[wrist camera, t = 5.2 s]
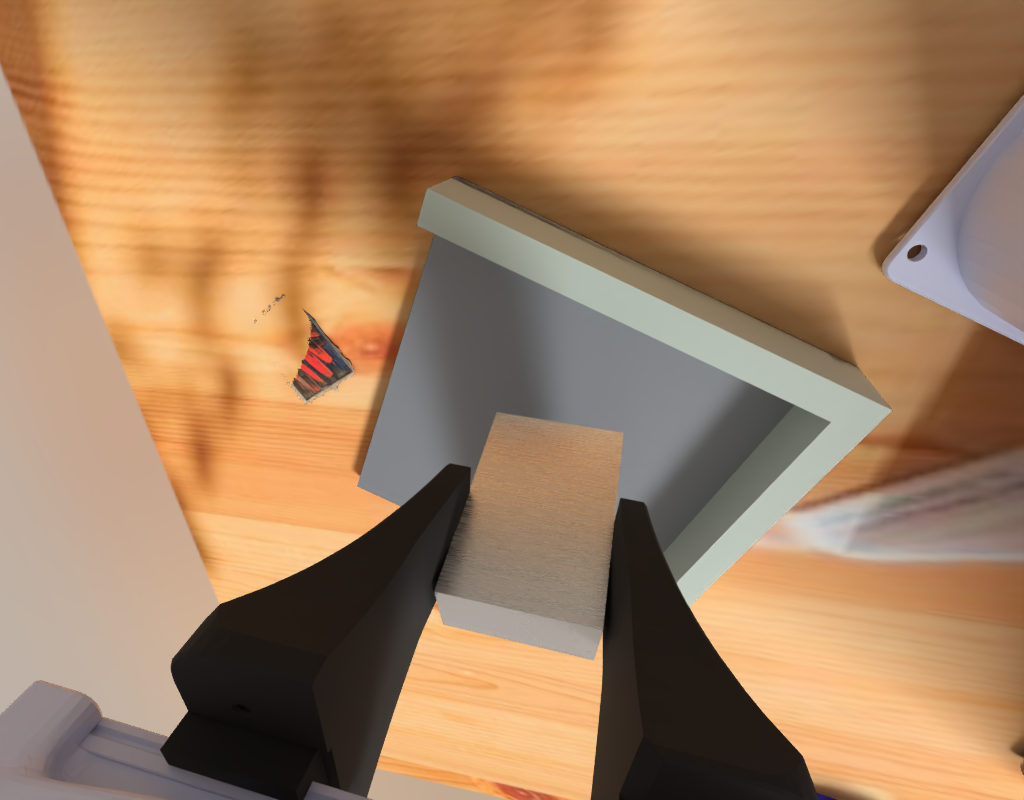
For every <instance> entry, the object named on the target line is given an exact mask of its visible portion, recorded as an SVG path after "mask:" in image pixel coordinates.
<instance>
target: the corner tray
mask: <svg viewBox="0 0 1024 800" xmlns="http://www.w3.org/2000/svg"><path fill="white" fill-rule="evenodd" d="M417 226H419V227H421V228H423V229H425V230H427V231H429V232H431V233H434V237H433V240H432V243H431V247H430V250H429V253H428V257H427V260H426V263H425V266H424V270H423V273H422V276H421V279H420V283H419V286H418V289H417V292H416V296H415V299H414V302H413V306H412V309H411V312H410V315H409V319H408V322H407V325H406V328H405V332H404V335H403V338H402V342H401V345H400V348H399V351H398V355H397V358H396V361H395V364H394V368H393V371H392V374H391V377H390V381H389V384H388V387H387V391H386V394H385V397H384V400H383V404H382V407H381V410H380V413H379V417H378V420H377V423H376V426H375V430H374V433H373V436H372V440H371V443H370V446H369V449H368V453H367V456H366V459H365V462H364V466H363V469H362V472H361V475H360V479H359V482H358V485H357V486H358V487H360V488H362V489H364V490H366V491H369V492H371V493H373V494H375V495H377V496H379V497H382V498H384V499H386V500H388V501H390V502H392V503H395V504H397V505H399V506H402V505H403V504H405V503H406V502H407V501H408V500H409V499H410V498H412V497H413V496H414V495H415V494H416V493H417V492H418V491H420V490H421V489H422V488H423V487H424V486H425V485H426V484H427V483H428V482H429V481H430V480H432V479H433V478H434V477H435V476H436V475H437V474H438V473H439V472H440V471H441V470H442V469H443V468H444V467H445V466H446V465H448V464H449V463H452V464H457V465H462V466H467V467H471V479H470V487H471V484H472V481H473V479H474V476H475V473H476V470H477V467H478V464H479V461H480V458H481V455H482V453H483V450H484V447H485V444H486V441H487V438H488V435H489V432H490V430H491V427H492V424H493V421H494V418H495V415H496V412H500V413H506V414H512V415H518V416H524V417H530V418H536V419H542V420H548V421H554V422H560V423H566V424H573V425H579V426H585V427H591V428H597V429H603V430H609V431H615V432H621V433H624V435H623V444H622V454H621V463H620V473H619V482H618V492H617V501H616V511H615V517H616V513H617V509H618V505H619V501H620V498H625V499H630V500H635V501H640V502H644V503H645V505H646V506H647V509H648V512H649V516H650V519H651V522H652V525H653V528H654V531H655V534H656V537H657V539H658V542H659V545H660V547H661V549H662V552H663V554H664V557H665V559H666V561H667V563H668V566H669V568H670V570H671V572H672V575H673V577H674V579H675V581H676V583H677V585H678V587H679V589H680V591H681V593H682V595H683V597H684V599H685V600H686V602H687V604H688V606H689V607H690V606H691V605H692V604H693V603H694V602H695V601H696V600H697V599H698V598H699V597H700V596H701V595H702V594H703V593H704V592H705V591H706V590H707V589H708V588H709V587H710V586H711V585H712V584H713V583H714V582H715V581H716V580H718V579H719V578H720V577H721V576H722V575H723V574H724V573H725V572H726V571H727V570H728V569H729V568H730V567H731V566H732V565H733V564H734V563H735V562H736V561H737V560H738V559H739V558H740V557H741V556H742V555H743V554H744V553H745V552H747V551H748V550H749V549H750V548H751V547H752V546H753V545H754V544H755V543H756V542H757V541H758V540H759V539H760V538H761V537H762V536H763V535H764V534H765V533H766V532H767V531H768V530H769V529H770V528H771V527H772V526H773V525H774V524H776V523H777V522H778V521H779V520H780V519H781V518H782V517H783V516H784V515H785V514H786V513H787V512H788V511H789V510H790V509H791V508H792V507H793V506H794V505H795V504H796V503H797V502H798V501H799V500H800V499H801V498H802V497H803V496H804V495H806V494H807V493H808V492H809V491H810V490H811V489H812V488H813V487H814V486H815V485H816V484H817V483H818V482H819V481H820V480H821V479H822V478H823V477H824V476H825V475H826V474H827V473H828V472H829V471H830V470H831V469H832V468H833V467H835V466H836V465H837V464H838V463H839V462H840V461H841V460H842V459H843V458H844V457H845V456H846V455H847V454H848V453H849V452H850V451H851V450H852V449H853V448H854V447H855V446H856V445H857V444H858V443H859V442H860V441H861V440H862V439H864V438H865V437H866V436H867V435H868V434H869V433H870V432H871V431H872V430H873V429H874V428H875V427H876V426H877V425H878V424H879V423H880V422H881V421H882V420H883V419H884V418H885V417H886V416H887V415H888V414H889V413H890V412H891V411H893V410H892V409H891V408H890V406H889V405H888V404H887V403H886V401H885V400H884V399H883V398H882V397H881V395H880V394H879V393H878V392H877V390H876V389H875V388H874V387H873V385H872V384H871V383H870V382H869V380H868V379H867V378H866V377H865V375H864V374H863V373H862V372H861V370H860V369H859V368H858V367H856V366H854V365H852V364H850V363H848V362H846V361H843V360H841V359H839V358H837V357H835V356H833V355H831V354H829V353H827V352H825V351H823V350H820V349H818V348H816V347H814V346H812V345H810V344H808V343H806V342H804V341H802V340H800V339H797V338H795V337H793V336H791V335H789V334H787V333H785V332H783V331H781V330H779V329H777V328H774V327H772V326H770V325H768V324H766V323H764V322H762V321H760V320H758V319H756V318H754V317H751V316H749V315H747V314H745V313H743V312H741V311H739V310H737V309H735V308H733V307H730V306H728V305H726V304H724V303H722V302H720V301H718V300H716V299H714V298H712V297H710V296H707V295H705V294H703V293H701V292H699V291H697V290H695V289H693V288H691V287H689V286H687V285H684V284H682V283H680V282H678V281H676V280H674V279H672V278H670V277H668V276H666V275H664V274H661V273H659V272H657V271H655V270H653V269H651V268H649V267H647V266H645V265H643V264H641V263H638V262H636V261H634V260H632V259H630V258H628V257H626V256H624V255H622V254H620V253H618V252H615V251H613V250H611V249H609V248H607V247H605V246H603V245H601V244H599V243H597V242H595V241H592V240H590V239H588V238H586V237H584V236H582V235H580V234H578V233H576V232H574V231H571V230H569V229H567V228H565V227H563V226H561V225H559V224H557V223H555V222H553V221H551V220H548V219H546V218H544V217H542V216H540V215H538V214H536V213H534V212H532V211H530V210H528V209H525V208H523V207H521V206H519V205H517V204H515V203H513V202H511V201H509V200H507V199H505V198H502V197H500V196H498V195H496V194H494V193H492V192H490V191H488V190H486V189H484V188H482V187H479V186H477V185H475V184H473V183H471V182H469V181H467V180H465V179H463V178H461V177H459V176H455V177H453V178H450V179H448V180H446V181H443V182H441V183H439V184H436V185H434V186H432V187H429V188H427V190H426V194H425V197H424V201H423V204H422V208H421V212H420V215H419V219H418V222H417Z"/></svg>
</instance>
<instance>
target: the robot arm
mask: <svg viewBox="0 0 1024 800" xmlns="http://www.w3.org/2000/svg"><path fill="white" fill-rule="evenodd" d="M919 244H920V245H921V251H920V253H919V254H918V255H917V256H915V257H913V258H907V253H908V251H909V249H911V248H912V247H913V246H916V245H919ZM882 272H883V275H884V276H885V277H887V278H888V279H889V280H891V281H892V282H894V283H896V284H898V285H900V286H902V287H904V288H907V289H909V290H911V291H913V292H915V293H917V294H919V295H921V296H923V297H925V298H927V299H929V300H931V301H933V302H936V303H938V304H940V305H942V306H944V307H946V308H948V309H950V310H952V311H954V312H956V313H958V314H960V315H962V316H965V317H967V318H969V319H971V320H973V321H975V322H977V323H979V324H981V325H983V326H985V327H987V328H989V329H991V330H993V331H996V332H998V333H1000V334H1002V335H1004V336H1006V337H1008V338H1010V339H1012V340H1014V341H1016V342H1018V343H1020V344H1022V345H1024V95H1023V96H1022V97H1021V98H1020V99H1019V101H1018V102H1017V103H1016V104H1015V105H1014V107H1013V108H1012V109H1011V110H1010V111H1009V112H1008V114H1007V115H1006V116H1005V117H1004V118H1003V120H1002V121H1001V122H1000V123H999V124H998V126H997V127H996V128H995V129H994V130H993V131H992V133H991V134H990V135H989V136H988V137H987V139H986V140H985V141H984V142H983V143H982V145H981V146H980V147H979V148H978V149H977V150H976V152H975V153H974V154H973V155H972V156H971V158H970V159H969V160H968V161H967V162H966V164H965V165H964V166H963V167H962V168H961V169H960V171H959V172H958V173H957V174H956V175H955V177H954V178H953V179H952V180H951V181H950V182H949V184H948V185H947V186H946V187H945V188H944V190H943V191H942V192H941V193H940V194H939V196H938V197H937V198H936V199H935V200H934V201H933V203H932V204H931V205H930V206H929V207H928V209H927V210H926V211H925V212H924V213H923V215H922V216H921V217H920V218H919V219H918V220H917V222H916V223H915V224H914V225H913V226H912V228H911V229H910V230H909V231H908V232H907V234H906V235H905V236H904V237H903V238H902V239H901V241H900V242H899V243H898V244H897V245H896V247H895V248H894V249H893V250H892V251H891V252H890V254H889V255H888V256H887V257H886V259H885V260H884V262H883V264H882ZM470 479H471V467H467V466H462V465H457V464H452V463H449V464H448V465H446V466H445V467H444V468H443V469H442V470H441V471H440V472H439V473H438V474H437V475H436V476H435V477H434V478H433V479H432V480H430V481H429V482H428V483H427V484H426V485H425V486H424V487H423V488H422V489H421V490H420V491H418V492H417V493H416V494H415V495H414V496H413V497H412V498H410V499H409V500H408V501H407V502H406V503H405V504H403V505H402V506H401V507H400V508H399V509H397V510H396V511H395V512H394V513H392V514H391V515H390V516H388V517H387V518H386V519H384V520H383V521H382V522H380V523H379V524H378V525H377V526H375V527H374V528H372V529H371V530H370V531H368V532H367V533H365V534H364V535H362V536H361V537H359V538H358V539H356V540H355V541H353V542H352V543H350V544H349V545H347V546H346V547H344V548H342V549H341V550H339V551H337V552H335V553H334V554H332V555H330V556H328V557H327V558H325V559H323V560H321V561H320V562H318V563H316V564H314V565H312V566H310V567H308V568H307V569H304V570H302V571H300V572H298V573H296V574H294V575H292V576H290V577H288V578H285V579H283V580H281V581H279V582H276V583H274V584H272V585H269V586H267V587H265V588H262V589H260V590H257V591H254V592H252V593H249V594H246V595H244V596H241V597H238V598H236V599H233V600H230V601H228V602H225V603H222V604H220V605H219V606H218V607H217V608H216V609H215V610H214V611H213V612H212V613H211V614H210V615H209V616H208V617H207V618H206V619H205V620H204V622H203V623H202V624H201V625H200V626H199V628H198V629H197V630H196V631H195V632H194V634H193V635H192V636H191V637H190V638H189V640H188V641H187V642H186V643H185V644H184V646H183V647H182V648H181V649H180V650H179V652H178V653H177V654H176V655H175V656H174V658H173V659H172V663H171V673H172V676H173V679H174V682H175V684H176V686H177V688H178V690H179V692H180V694H181V696H182V699H183V700H184V702H185V705H186V707H187V709H188V712H187V714H186V715H185V716H184V718H183V719H182V720H181V722H180V723H179V725H178V726H177V727H176V729H175V730H174V731H173V733H172V734H171V735H170V737H167V736H164V735H160V734H157V733H154V732H151V731H148V730H144V729H141V728H138V727H134V726H131V725H128V724H125V723H122V722H118V721H115V720H112V719H108V718H105V717H102V712H101V710H100V708H99V706H98V705H97V703H96V702H95V701H94V700H93V699H92V698H90V697H88V696H87V695H85V694H83V693H81V692H78V691H75V690H72V689H68V688H65V687H62V686H58V685H55V684H52V683H48V682H45V681H41V680H40V681H35V682H34V683H33V684H32V685H31V686H30V687H29V688H28V689H27V690H25V692H24V693H22V694H21V695H20V696H19V697H18V698H17V699H16V700H15V701H14V702H13V703H12V704H11V705H10V706H9V707H8V708H7V709H6V710H5V711H4V712H3V713H2V714H1V715H0V800H372V799H369V798H367V795H368V792H369V788H370V785H371V782H372V779H373V775H374V772H375V769H376V766H377V763H378V759H379V756H380V753H381V750H382V747H383V744H384V741H385V738H386V734H387V731H388V728H389V725H390V722H391V719H392V716H393V713H394V710H395V707H396V704H397V701H398V698H399V695H400V692H401V689H402V686H403V683H404V680H405V677H406V674H407V672H408V669H409V666H410V663H411V660H412V658H413V655H414V652H415V649H416V646H417V643H418V641H419V638H420V636H421V633H422V631H423V628H424V626H425V624H426V622H427V619H428V617H429V615H430V613H431V611H432V609H433V607H434V604H435V602H436V596H435V593H434V591H435V588H436V585H437V582H438V579H439V576H440V574H441V571H442V568H443V565H444V562H445V559H446V556H447V553H448V551H449V548H450V545H451V542H452V539H453V536H454V533H455V531H456V529H457V527H458V524H459V522H460V519H461V516H462V513H463V510H464V507H465V504H466V501H467V499H468V496H469V493H470ZM591 800H819V799H818V796H817V793H816V790H815V788H814V785H813V782H812V779H811V777H810V774H809V771H808V768H807V766H806V763H805V761H804V758H803V756H802V755H801V754H800V753H799V752H798V750H797V749H796V748H795V747H794V746H793V745H792V744H791V743H790V742H789V741H788V740H787V738H786V737H785V736H784V735H783V734H782V733H781V732H780V731H779V730H778V729H777V728H776V726H775V725H774V724H773V723H772V722H771V721H770V720H769V719H768V718H767V717H766V715H765V714H764V713H763V712H762V711H761V709H760V708H759V707H758V706H757V705H756V703H755V702H754V701H753V700H752V698H751V697H750V696H749V695H748V694H747V692H746V691H745V690H744V688H743V687H742V686H741V684H740V683H739V682H738V680H737V679H736V678H735V676H734V675H733V673H732V672H731V671H730V669H729V668H728V667H727V665H726V664H725V663H724V661H723V660H722V659H721V657H720V656H719V654H718V653H717V651H716V650H715V648H714V647H713V645H712V644H711V642H710V641H709V639H708V638H707V636H706V635H705V633H704V631H703V630H702V628H701V626H700V625H699V623H698V622H697V620H696V618H695V617H694V615H693V613H692V611H691V610H690V608H689V606H688V604H687V602H686V600H685V599H684V597H683V595H682V593H681V591H680V589H679V587H678V585H677V583H676V581H675V579H674V577H673V575H672V572H671V570H670V568H669V566H668V563H667V561H666V559H665V557H664V554H663V552H662V549H661V547H660V545H659V542H658V539H657V537H656V534H655V531H654V528H653V525H652V522H651V519H650V516H649V512H648V509H647V506H646V505H645V503H644V502H640V501H635V500H630V499H625V498H620V501H619V505H618V509H617V513H616V517H615V521H614V530H613V540H612V549H611V559H610V568H609V578H608V587H607V597H606V606H605V616H604V625H603V676H602V693H601V704H600V714H599V725H598V735H597V745H596V755H595V765H594V775H593V784H592V793H591Z"/></svg>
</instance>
